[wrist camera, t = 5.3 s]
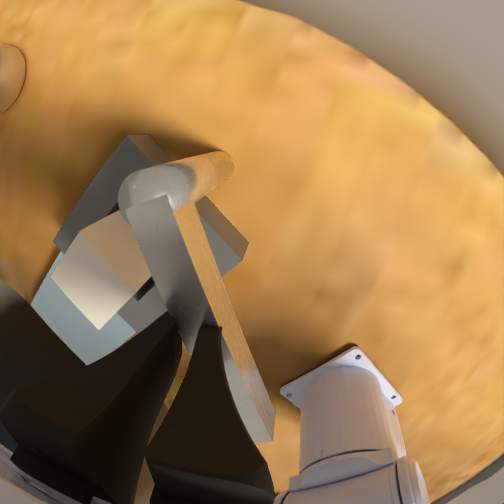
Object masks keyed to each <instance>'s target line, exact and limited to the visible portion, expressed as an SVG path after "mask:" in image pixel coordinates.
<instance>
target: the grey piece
mask: <svg viewBox="0 0 504 504" xmlns="http://www.w3.org/2000/svg"><path fill="white" fill-rule="evenodd" d="M233 171H234V163H233V160H232V158H231V157H230V156H229V155H228V154H227V153H225V152H222V151H215V152H210V153H206V154H201V155H197V156H192V157H188V158H184V159H180V160H176V161H172V162H168V163H164V164H160V165H157V166H153V167H149V168H146V169H142V170H139V171H136V172H133V173H131V174H130V175H129V176H127V177H126V178H125V180H124V181H123V182H122V184H121V186H120V189H119V193H118V205H119V209H120V212H121V214H122V216H123V218H124V219H125V221H126V222H127V223H128V224H129V225H130V226H131V227H132V229H133V232H134V234H135V237H136V239H137V242H138V244H139V247H140V249H141V252H142V254H143V256H144V259H145V261H146V263H147V266H148V268H149V270H150V273H151V275H152V277H153V280H154V282H155V284H156V286H157V288H158V291H159V293H160V295H161V297H162V299H163V302H164V304H165V306H166V308H167V310H168V312H169V314H170V316H171V317H174V318H178V333H179V335H180V337H181V339H182V340H183V342H184V344H185V346H186V348H187V350H188V352H189V354H190V356H192V352H193V348H194V345H195V341H196V337H197V334H198V330H199V328H200V326H201V324H202V323H203V324H208V325H213V326H218V327H219V326H223V327H222V335H221V345H222V355H223V362H224V367H225V372H226V376H227V380H228V384H229V387H230V391H231V394H232V397H233V399H234V402H235V405H236V407H237V410H238V412H239V414H240V417H241V419H242V421H243V423H244V425H245V427H246V429H247V431H248V433H249V435H250V437H251V438H252V440H253V442H254V443H258V442H271V441H273V434H274V423H275V409H274V407H273V405H272V402H271V400H270V398H269V395H268V393H267V390H266V388H265V386H264V383H263V381H262V379H261V376H260V374H259V371H258V369H257V366H256V364H255V362H254V359H253V357H252V354H251V352H250V349H249V347H248V344H247V342H246V339H245V337H244V334H243V332H242V329H241V327H240V324H239V322H238V319H237V317H236V314H235V311H234V309H233V306H232V304H231V301H230V299H229V296H228V293H227V291H226V288H225V286H224V283H223V280H222V278H221V275H220V272H219V270H218V267H217V264H216V262H215V259H214V256H213V254H212V251H211V248H210V245H209V243H208V240H207V237H206V234H205V232H204V229H203V226H202V223H201V220H200V218H199V215H198V212H197V209H196V206H195V203H196V202H197V201H199V200H200V199H202V198H203V197H204V196H206V195H207V194H208V193H210V192H211V191H212V190H214V189H215V188H217V187H218V186H219V185H221V184H222V183H224V182H225V181H226V180H228V179H229V178H230V177H231V176H232V174H233Z"/></svg>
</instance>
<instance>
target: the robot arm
mask: <svg viewBox="0 0 504 504" xmlns="http://www.w3.org/2000/svg"><path fill="white" fill-rule="evenodd" d="M222 327H223V326H219V327H218V326H213V325H208V324H203V323H202V324H201V326H200V328H199V330H198V334H197V337H196V341H195V345H194V348H193V352H192V356H191V360H190V363H189V367H188V370H187V373H186V375H185V377H184V380H183V382H182V384H181V386H180V389H179V391H178V393H177V395H176V397H175V399H174V401H173V403H172V405H171V407H170V409H169V411H168V413H167V415H166V416H165V418H164V420H163V422H162V424H161V426H160V427H159V429H158V431H157V432H156V434H155V435H154V437H153V439H152V441H151V442H150V444H149V445H148V442H149V438H150V435H151V432H152V428H153V425H154V423H155V420H156V418H157V415H158V413H159V411H160V408H161V406H162V404H163V402H164V400H165V398H166V395H167V393H168V391H169V389H170V387H171V384H172V382H173V380H174V377H175V375H176V372H177V369H178V366H179V363H180V359H181V356H182V339H181V337H180V335H179V333H178V318H174V317H171V316H170V314H169V312H168V311H166V312H165V313H164V314H162V315H161V316H160V317H159V318H157V319H156V320H155V321H154V322H152V323H151V324H150V325H149V326H147V327H146V328H145V329H144V330H142V331H141V332H140V333H138V334H137V335H136V336H134V337H133V338H132V339H130V340H129V341H128V342H126V343H125V344H123V345H122V346H120V347H119V348H117V349H116V350H114V351H113V352H111V353H109V354H108V355H106V356H104V357H103V358H101V359H99V360H97V361H95V362H93V363H91V364H89V365H87V366H85V367H82V368H80V369H77V370H75V371H73V372H70V373H68V374H65V375H62V376H59V377H56V378H52V379H49V380H46V381H42V382H38V383H32V384H27V385H22V386H17V387H16V389H15V390H14V391H13V392H12V393H11V395H10V396H9V397H8V399H7V400H6V401H5V403H4V404H3V405H2V407H1V408H0V420H1V422H2V423H3V425H4V426H5V428H6V429H7V430H8V432H9V433H10V434H11V436H12V437H13V438H14V439H15V441H16V442H17V443H18V444H19V445H18V446H17V448H16V450H15V451H14V453H12V452H11V451H9V450H8V449H6V448H5V447H4V446H2V445H1V444H0V504H54V503H53V502H52V501H51V500H49V499H48V497H46V495H44V494H43V493H41V492H40V491H38V490H37V489H35V488H34V487H33V486H35V487H36V488H38V489H40V490H41V491H43V492H45V493H47V494H49V495H50V496H52V497H54V498H56V499H58V500H60V501H61V502H63V503H65V504H134V499H135V494H136V489H137V484H138V480H139V476H140V471H141V467H142V463H143V460H144V456H145V458H146V461H147V464H148V467H149V470H150V473H151V475H152V478H153V481H154V483H155V486H154V489H153V492H152V495H151V498H150V504H430V503H429V498H428V494H427V490H426V486H425V482H424V479H423V476H422V472H421V470H420V467H419V465H418V463H417V461H416V460H415V459H412V458H409V457H408V456H406V450H405V445H404V441H403V437H402V433H401V429H400V425H399V422H398V418H397V414H396V410H395V406H397V405H398V404H400V403H401V402H402V400H403V399H402V397H401V395H400V394H399V393H398V392H397V391H396V390H395V388H394V387H393V386H392V385H391V384H390V382H389V381H388V380H387V379H386V378H385V377H384V375H383V374H382V373H381V372H380V371H379V370H378V368H377V367H376V366H375V365H374V364H373V363H372V361H371V360H370V359H369V358H368V357H367V356H366V354H365V353H364V352H363V351H362V350H361V349H360V348H359V347H357V346H354V347H351V348H350V349H348V350H347V351H345V352H343V353H342V354H340V355H338V356H337V357H335V358H333V359H332V360H330V361H328V362H326V363H325V364H323V365H321V366H319V367H318V368H316V369H314V370H312V371H311V372H309V373H307V374H305V375H303V376H301V377H300V378H298V379H296V380H294V381H292V382H290V383H288V384H286V385H284V386H282V387H281V388H280V393H281V395H283V396H284V397H285V398H286V399H288V400H289V401H290V402H291V403H293V404H294V405H295V406H296V407H298V408H299V409H300V410H301V413H300V461H299V475H297V476H293V477H290V482H289V490H285V491H283V492H281V493H280V494H278V496H277V497H276V498H275V493H274V486H273V482H272V478H271V475H270V472H269V468H268V465H267V462H266V461H265V459H264V458H263V456H262V455H261V453H260V452H259V450H258V449H257V447H256V445H255V444H254V442H253V440H252V438H251V437H250V435H249V433H248V431H247V429H246V427H245V425H244V423H243V421H242V419H241V417H240V414H239V412H238V410H237V407H236V405H235V402H234V399H233V397H232V394H231V391H230V387H229V384H228V380H227V376H226V372H225V367H224V362H223V355H222V345H221V335H222ZM357 355H360V356H358V357H356V356H357ZM288 393H290V394H288ZM147 445H148V447H147ZM29 483H30V484H32V485H33V486H31V485H30V484H29Z"/></svg>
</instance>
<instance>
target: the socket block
mask: <svg viewBox="0 0 504 504" xmlns="http://www.w3.org/2000/svg"><path fill="white" fill-rule="evenodd" d="M172 161H173V160H172V159H171V158H170V157H169V156H168V155H167V154H166V152H165V151H164V150H163V149H162V148H161V147H160V146H159V145H158V144H157V143H156V142H155V141H154V139H153V138H152V137H151V136H150V135H149V134H143V135H127V136H126V137H125V138H124V139H123V141H122V142H121V143H120V144H119V146H118V147H117V148H116V149H115V151H114V152H113V153H112V154H111V156H110V157H109V158H108V160H107V161H106V162H105V164H104V165H103V166H102V168H101V169H100V170H99V172H98V173H97V174H96V176H95V177H94V179H93V180H92V181H91V183H90V184H89V186H88V187H87V188H86V190H85V191H84V193H83V194H82V196H81V197H80V199H79V200H78V202H77V203H76V205H75V206H74V208H73V209H72V211H71V212H70V214H69V215H68V217H67V219H66V220H65V222H64V223H63V225H62V227H61V228H60V230H59V232H58V233H57V235H56V237H55V238H54V240H53V242H54V243H55V244H56V245H57V247H58V248H59V249H60V250H61V251H62V253H63V254H65V253H66V251H67V250H68V248H69V247H70V245H71V244H72V242H73V241H74V239H75V238H76V236H77V235H78V233H79V232H80V230H82V229H84V228H86V227H88V226H90V225H91V224H93V223H95V222H97V221H99V220H101V219H103V218H105V217H107V216H109V215H110V214H112V213H114V212H116V211H118V210H120V209H119V205H118V193H119V189H120V186H121V184H122V182H123V181H124V180H125V178H126V177H127V176H129V175H130V174H131V173H133V172H136V171H139V170H142V169H146V168H149V167H153V166H157V165H160V164H164V163H168V162H172ZM195 206H196V209H197V212H198V215H199V218H200V220H201V223H202V226H203V229H204V232H205V234H206V237H207V240H208V243H209V245H210V248H211V251H212V254H213V256H214V259H215V262H216V264H217V267H218V270H219V272H220V275H221V277H222V276H223V275H225V274H226V273H227V272H228V271H230V270H231V269H232V268H233V267H235V266H236V265H237V264H238V263H240V262H241V261H242V260H243V257H244V254H245V252H246V249H247V246H248V244H249V242H248V241H247V240H246V239H245V238H244V237H243V236H242V235H241V234H240V233H239V232H238V230H237V229H236V228H235V227H234V226H233V225H232V224H231V223H230V222H229V221H228V220H227V219H226V217H225V216H224V215H223V214H222V213H221V212H220V211H219V210H218V209H217V208H216V207H215V206H214V204H213V203H212V202H211V201H210V200H209V199H208V198H207V197H206V196H204V197H203V198H202V199H200V200H199V201H197V202H196V203H195ZM166 311H168V310H167V308H166V306H165V304H164V302H163V299H162V297H161V295H160V293H159V291H158V288H157V286H156V284H155V282H154V281H153V280H152V279H151V278H149V279H148V280H147V281H146V282H145V284H144V285H143V286H142V287H141V288H140V289H139V290H138V291H137V292H136V293H135V294H134V295H133V296H132V297H131V298H130V299H129V300H128V301H127V302H126V303H125V304H124V305H123V306H122V307H121V308H120V309H119V310H118V311H117V313H118V314H119V315H120V316H121V317H122V318H123V319H124V320H125V321H126V322H127V323H128V324H129V325H130V326H131V327H132V328H133V329H134V330H135V331H136V332H137V333H140V332H141V331H142V330H144V329H145V328H146V327H147V326H149V325H150V324H151V323H152V322H154V321H155V320H156V319H157V318H159V317H160V316H161V315H162V314H164V313H165V312H166Z"/></svg>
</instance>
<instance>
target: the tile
mask: <svg viewBox="0 0 504 504" xmlns="http://www.w3.org/2000/svg"><path fill="white" fill-rule="evenodd" d="M63 256H64V254H63V253H62V251H61V252H60V253H59V255H58V257H57V258H56V260H55V262H54V263H53V265H52V267H51V269H50V270H49V272H48V274H47V275H46V277H45V279H44V281H43V283H42V284H41V286H40V288H39V290H38V292H37V294H36V295H35V297H34V299H33V301H32V303H31V306H32V307H33V308H34V309H35V311H36V312H37V313H38V314H39V315H40V317H42V319H43V320H44V321H45V322H46V323H47V325H49V327H50V328H51V329H52V330H53V331H54V332H55V333H56V334H57V335H58V336H59V338H60V339H61V340H62V341H63V342H64V343H65V344H66V345H67V346H68V347H69V348H70V349H71V350H72V351H73V352H74V353H75V354H76V355H77V356H78V357H79V358H80V359H81V360H82V361H83V362H84V363H85V364H86V365H89V364H91V363H93V362H95V361H97V360H99V359H101V358H103V357H104V356H106V355H108V354H109V353H111V352H113V351H114V350H116V349H117V348H118V347H120V346H121V345H122V344H123V343H124V342H125V341H127V340H128V339H129V338H130V337H131V336H132V335H134V334H135V333H136V331H135V330H134V329H133V328H132V327H131V326H130V325H129V324H128V323H127V322H126V321H125V320H124V319H123V318H122V317H121V316H120V315H119V314H118V313H117V312H116V313H115V314H114V315H113V316H112V317H111V318H110V319H109V320H108V321H107V322H106V324H105V325H104V326H103V327H102V328H101V329H100V330H98V329H97V328H96V327H95V326H94V325H93V324H92V323H91V322H90V321H89V320H88V318H87V317H86V316H85V315H84V314H83V313H82V312H81V311H80V310H79V309H78V308H77V307H76V306H75V305H74V303H73V302H72V301H71V300H70V299H69V298H68V297H67V296H66V294H65V293H64V292H63V291H62V290H61V289H60V288H59V286H58V285H57V284H56V283H55V282H54V280H53V279H52V278H51V276H52V274H53V272H54V271H55V269H56V267H57V266H58V264H59V262H60V261H61V259H62V258H63Z"/></svg>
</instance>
